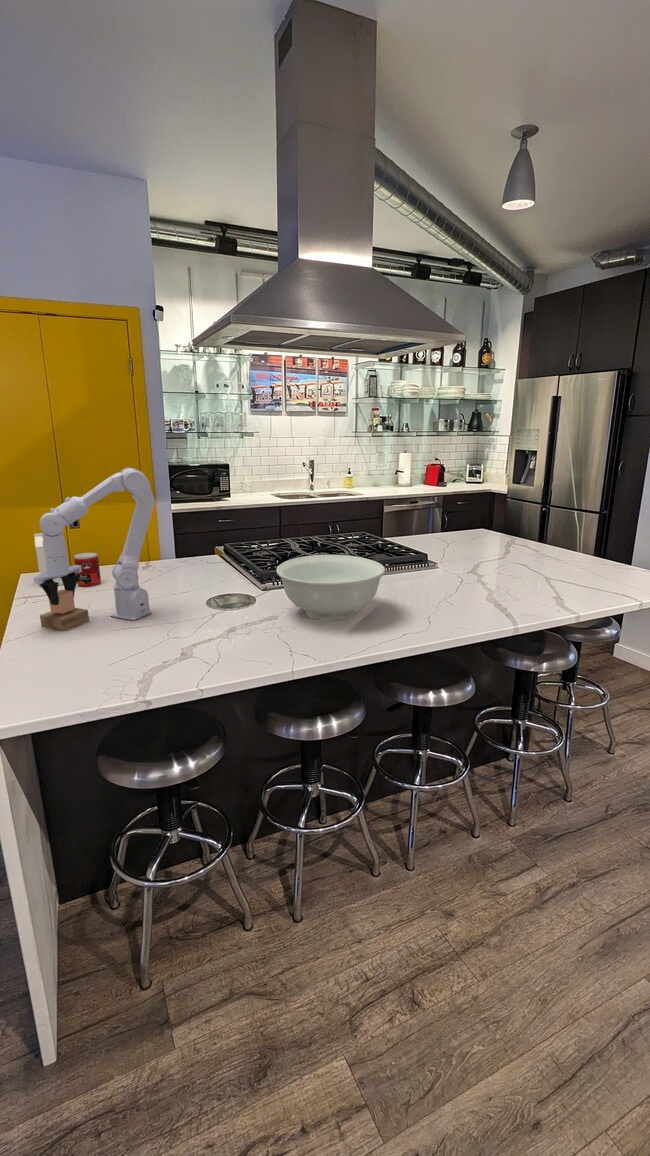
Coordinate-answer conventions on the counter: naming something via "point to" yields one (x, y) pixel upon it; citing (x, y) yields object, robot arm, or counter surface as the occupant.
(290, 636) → the counter surface
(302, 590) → the bowl
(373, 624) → the counter surface
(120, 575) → the robot arm
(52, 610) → the terracotta block
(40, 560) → the milk carton
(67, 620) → the walnut base block
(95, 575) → the canned food
